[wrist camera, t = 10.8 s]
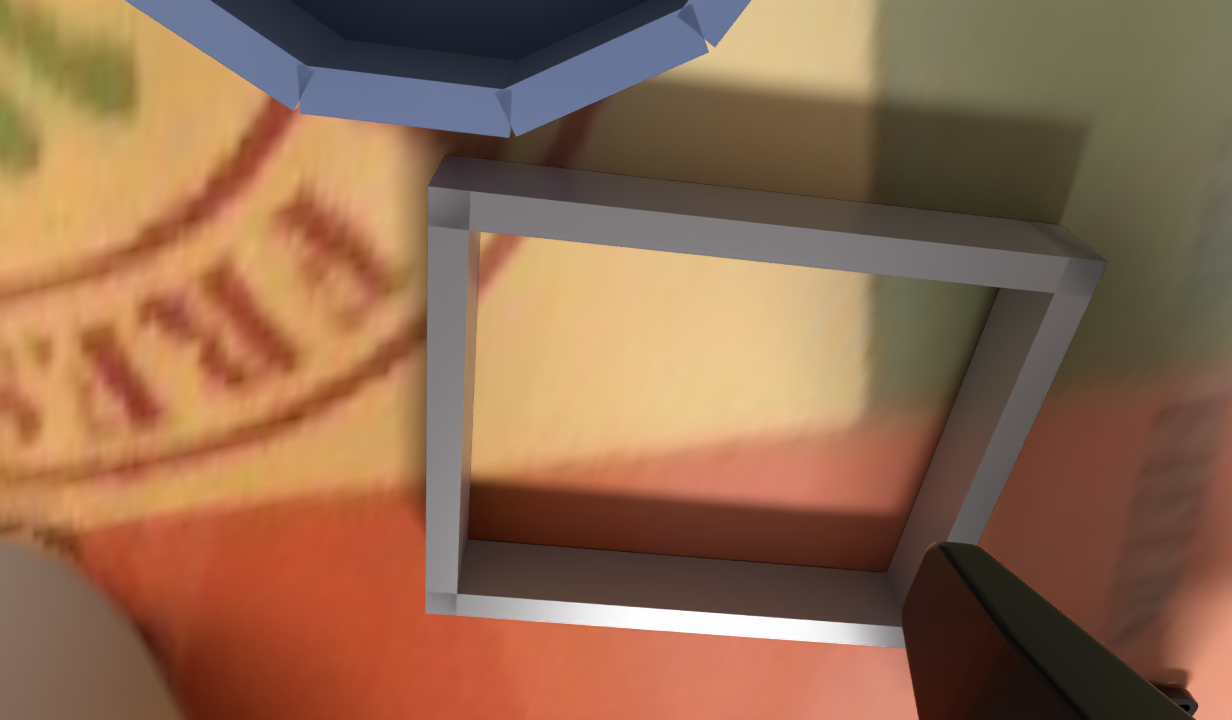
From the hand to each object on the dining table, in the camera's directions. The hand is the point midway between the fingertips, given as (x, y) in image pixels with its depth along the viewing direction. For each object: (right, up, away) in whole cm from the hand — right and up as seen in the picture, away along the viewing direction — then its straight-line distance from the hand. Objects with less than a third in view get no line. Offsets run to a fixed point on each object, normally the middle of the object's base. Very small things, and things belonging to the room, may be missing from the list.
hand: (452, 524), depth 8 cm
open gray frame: (+4, 0, +13) cm, 14 cm away
